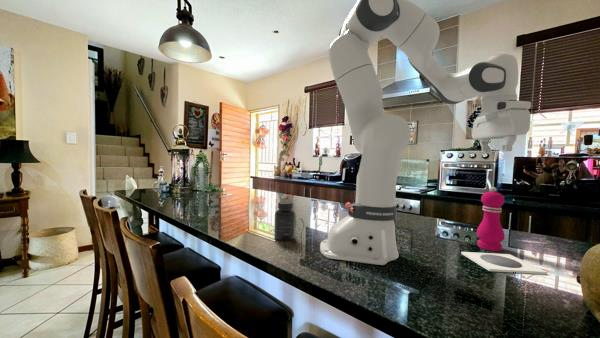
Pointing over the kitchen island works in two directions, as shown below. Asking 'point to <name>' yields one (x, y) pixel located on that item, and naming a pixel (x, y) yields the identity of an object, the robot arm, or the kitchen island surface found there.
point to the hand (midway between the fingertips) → (495, 151)
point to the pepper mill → (491, 221)
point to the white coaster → (502, 263)
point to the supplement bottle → (284, 222)
